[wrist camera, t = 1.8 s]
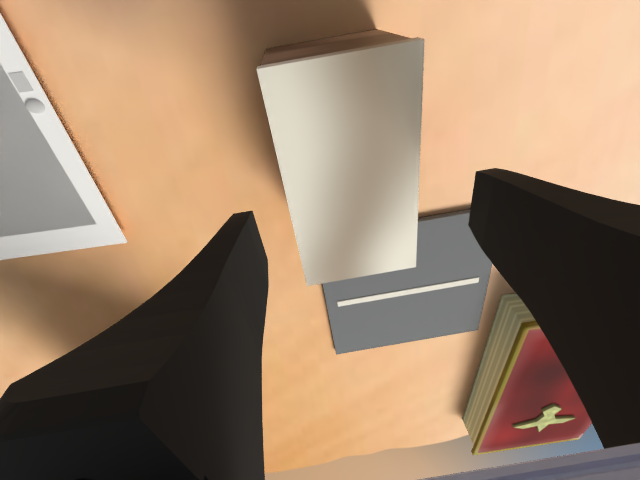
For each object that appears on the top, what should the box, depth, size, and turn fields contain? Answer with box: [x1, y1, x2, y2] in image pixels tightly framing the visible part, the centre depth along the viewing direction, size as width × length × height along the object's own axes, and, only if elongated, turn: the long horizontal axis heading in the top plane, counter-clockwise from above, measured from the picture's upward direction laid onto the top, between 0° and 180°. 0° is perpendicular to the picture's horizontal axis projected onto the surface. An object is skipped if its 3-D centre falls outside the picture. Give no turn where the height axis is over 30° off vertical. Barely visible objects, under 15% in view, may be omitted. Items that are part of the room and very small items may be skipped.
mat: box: [322, 209, 492, 354], centre depth 24 cm, size 12×12×1 cm
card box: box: [257, 29, 424, 286], centre depth 15 cm, size 5×9×6 cm, turn 8°
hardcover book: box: [463, 293, 592, 455], centre depth 31 cm, size 12×21×4 cm, turn 6°
